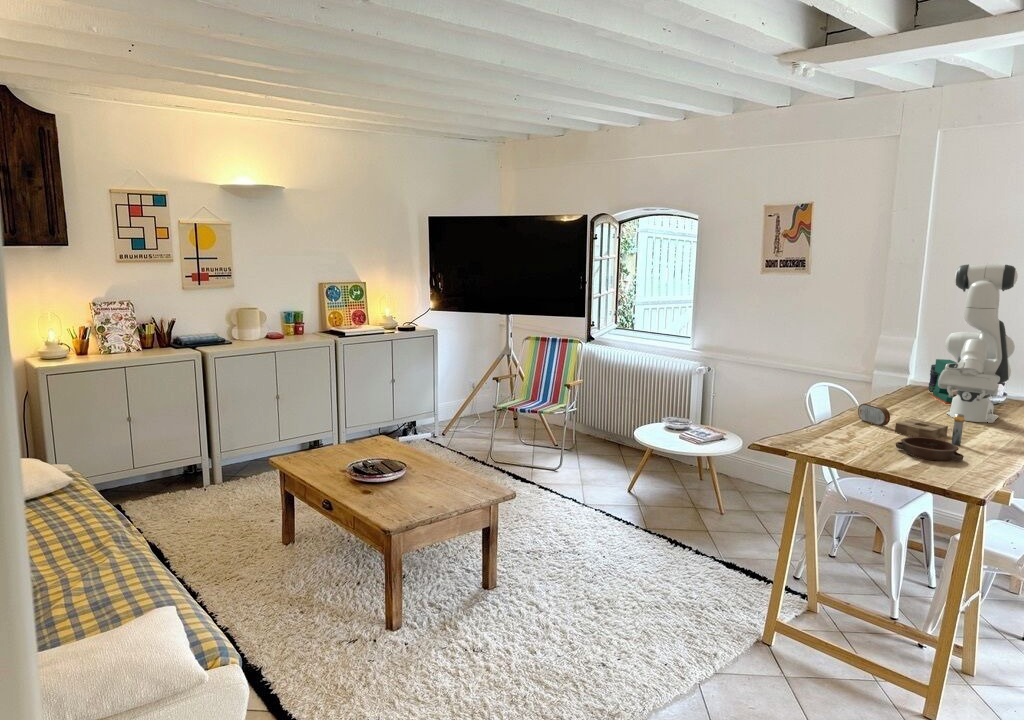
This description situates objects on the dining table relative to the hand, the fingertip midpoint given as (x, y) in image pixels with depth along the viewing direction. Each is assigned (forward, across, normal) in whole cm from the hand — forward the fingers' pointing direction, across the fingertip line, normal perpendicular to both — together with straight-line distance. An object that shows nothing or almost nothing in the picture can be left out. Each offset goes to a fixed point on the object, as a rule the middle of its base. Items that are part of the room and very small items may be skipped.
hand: (964, 398), depth 278 cm
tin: (+11, +32, -13) cm, 36 cm away
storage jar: (-56, +18, -79) cm, 99 cm away
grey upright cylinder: (+20, 0, -3) cm, 21 cm away
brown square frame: (+14, +13, -9) cm, 21 cm away
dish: (+38, +6, +14) cm, 41 cm away
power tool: (-39, +10, -62) cm, 74 cm away
